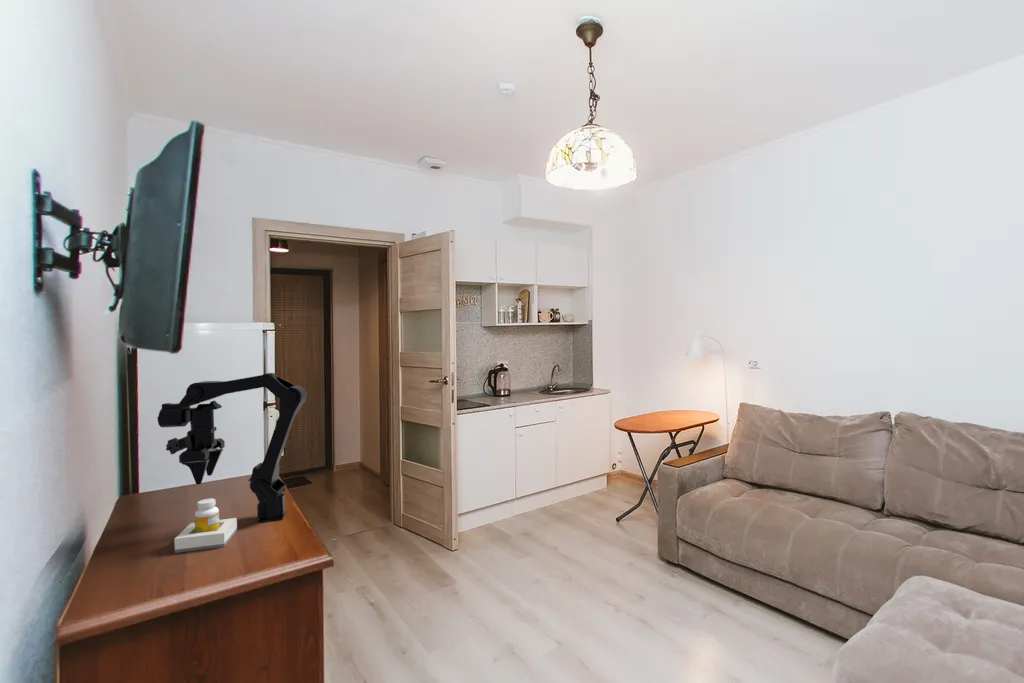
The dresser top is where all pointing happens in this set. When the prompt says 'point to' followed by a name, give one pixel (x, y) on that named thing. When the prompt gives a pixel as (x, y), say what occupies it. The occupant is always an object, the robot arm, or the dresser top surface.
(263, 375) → the robot arm
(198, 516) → the supplement bottle
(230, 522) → the socket block
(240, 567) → the dresser top surface
